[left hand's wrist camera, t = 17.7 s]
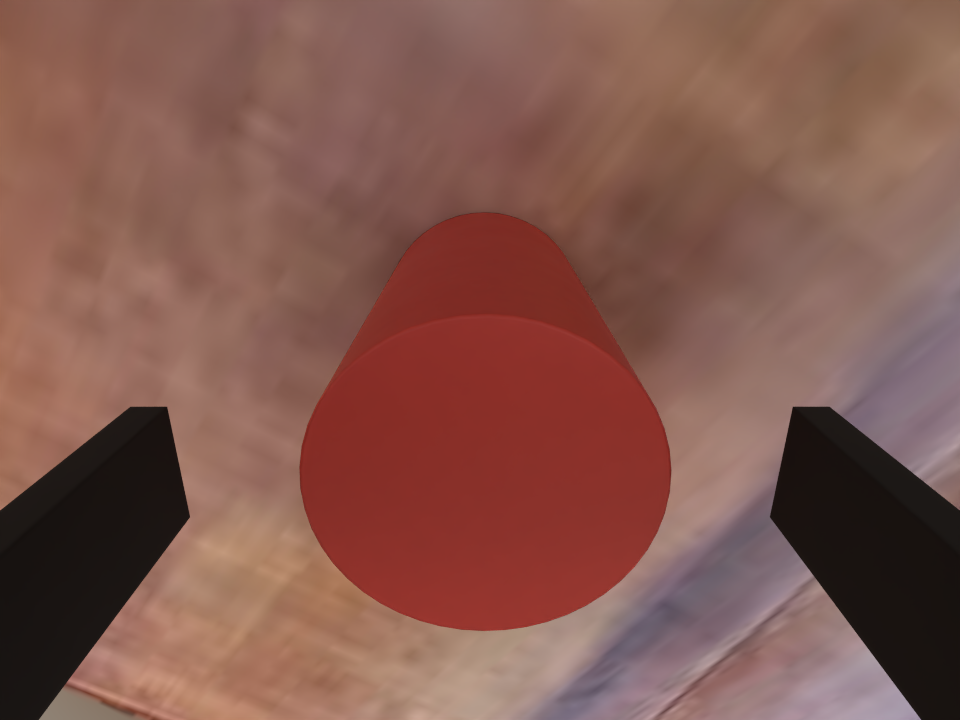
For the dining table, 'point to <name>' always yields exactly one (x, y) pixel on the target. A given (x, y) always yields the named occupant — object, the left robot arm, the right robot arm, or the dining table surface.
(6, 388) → the dining table surface
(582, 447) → the can
